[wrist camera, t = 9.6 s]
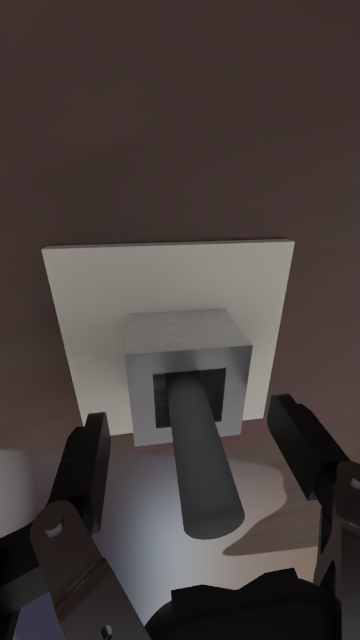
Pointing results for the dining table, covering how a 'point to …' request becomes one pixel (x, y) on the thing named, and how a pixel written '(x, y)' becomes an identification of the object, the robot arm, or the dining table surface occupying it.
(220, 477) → the post
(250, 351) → the collar
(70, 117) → the dining table surface
